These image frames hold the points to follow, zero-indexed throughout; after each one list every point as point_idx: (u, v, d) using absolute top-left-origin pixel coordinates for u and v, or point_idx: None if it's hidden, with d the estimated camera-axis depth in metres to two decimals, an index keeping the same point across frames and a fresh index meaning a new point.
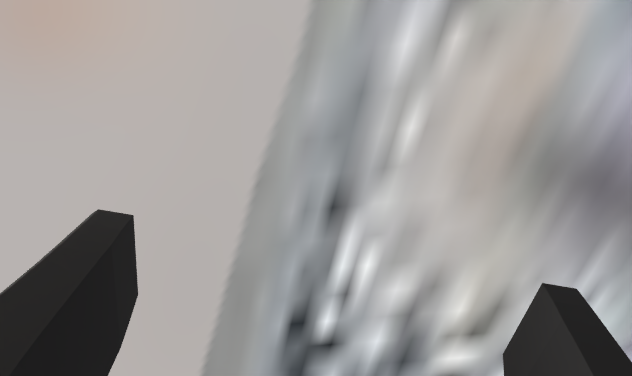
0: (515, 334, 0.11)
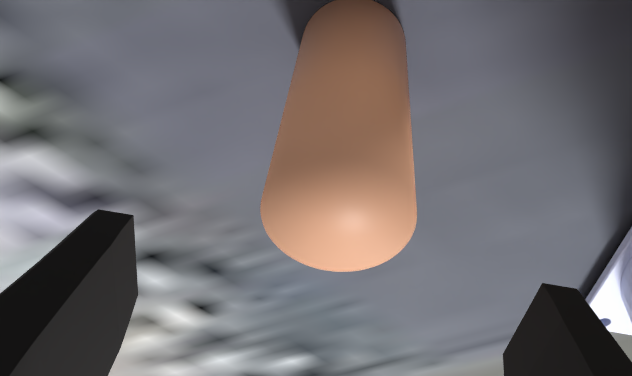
0: (515, 334, 0.11)
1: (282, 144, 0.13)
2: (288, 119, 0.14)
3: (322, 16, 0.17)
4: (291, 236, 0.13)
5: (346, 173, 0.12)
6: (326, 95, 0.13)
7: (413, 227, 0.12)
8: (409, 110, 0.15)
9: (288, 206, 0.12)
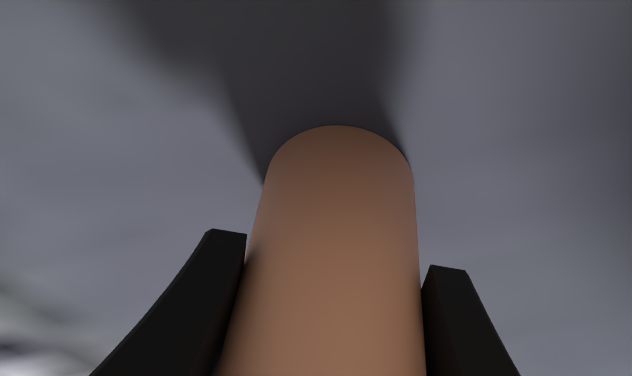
0: None
1: None
2: None
3: (292, 159, 0.12)
4: None
5: None
6: (282, 369, 0.08)
7: None
8: (423, 344, 0.09)
9: None
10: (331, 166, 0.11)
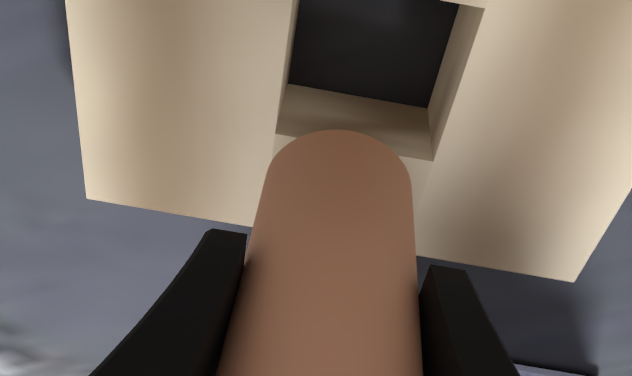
0: None
1: None
2: None
3: (295, 161, 0.12)
4: None
5: None
6: (290, 374, 0.08)
7: None
8: (421, 353, 0.09)
9: None
10: (336, 171, 0.11)
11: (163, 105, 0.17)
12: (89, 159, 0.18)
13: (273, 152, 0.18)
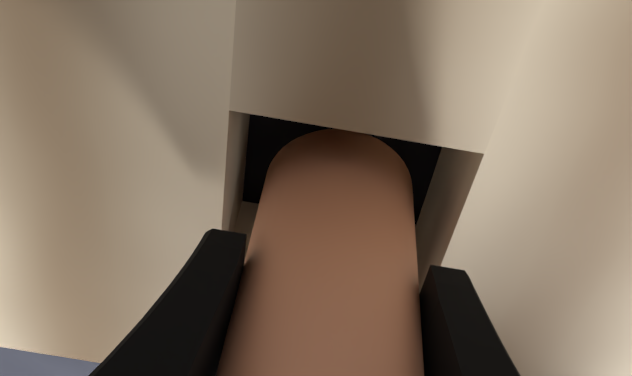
0: None
1: None
2: None
3: (296, 159, 0.12)
4: None
5: None
6: (290, 374, 0.08)
7: None
8: (422, 353, 0.09)
9: None
10: (337, 170, 0.11)
11: (74, 253, 0.13)
12: None
13: None
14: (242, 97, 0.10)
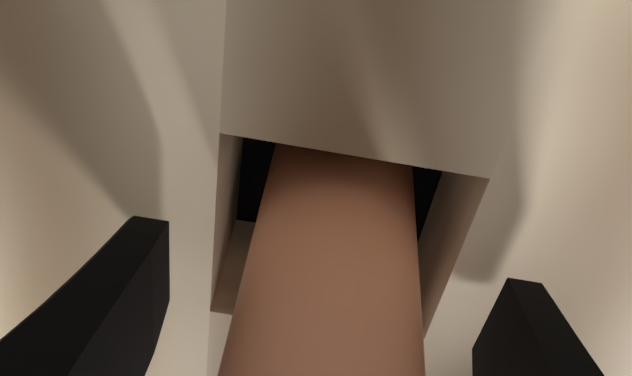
0: (482, 329, 0.11)
1: None
2: (241, 340, 0.09)
3: None
4: None
5: None
6: (300, 314, 0.09)
7: None
8: (420, 304, 0.10)
9: None
10: None
11: (58, 278, 0.13)
12: None
13: (210, 330, 0.13)
14: (233, 119, 0.10)
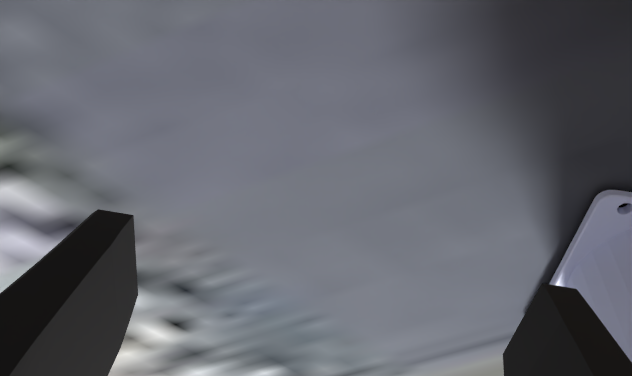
0: (515, 334, 0.11)
1: None
2: None
3: None
4: None
5: None
6: None
7: None
8: None
9: None
10: None
11: None
12: None
13: None
14: None
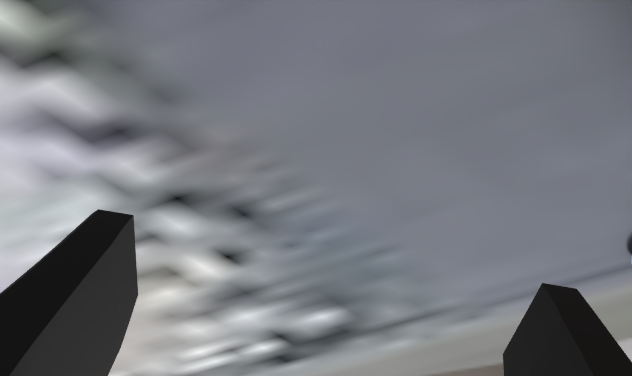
0: (515, 334, 0.11)
1: None
2: None
3: None
4: None
5: None
6: None
7: None
8: None
9: None
10: None
11: None
12: None
13: None
14: None
